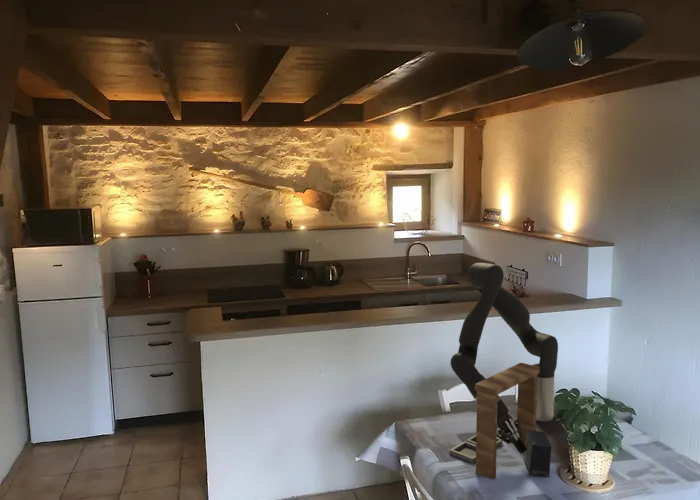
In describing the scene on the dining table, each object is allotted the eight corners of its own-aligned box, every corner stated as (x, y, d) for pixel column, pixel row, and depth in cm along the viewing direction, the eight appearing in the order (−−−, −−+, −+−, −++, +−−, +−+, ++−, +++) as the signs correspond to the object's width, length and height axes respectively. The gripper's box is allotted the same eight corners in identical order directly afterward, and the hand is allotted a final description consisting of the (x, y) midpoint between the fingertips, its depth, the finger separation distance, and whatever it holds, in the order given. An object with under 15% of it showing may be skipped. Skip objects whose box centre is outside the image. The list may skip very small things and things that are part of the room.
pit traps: (480, 435, 201) (480, 431, 201) (502, 443, 195) (502, 439, 195) (449, 454, 188) (449, 449, 188) (472, 463, 182) (472, 458, 182)
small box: (550, 478, 172) (553, 446, 171) (528, 476, 173) (531, 444, 172) (543, 461, 182) (546, 431, 181) (523, 459, 183) (525, 429, 182)
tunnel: (518, 442, 196) (520, 362, 193) (537, 448, 191) (539, 367, 188) (473, 472, 176) (474, 384, 172) (493, 480, 171) (494, 389, 168)
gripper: (487, 404, 179) (521, 454, 172) (508, 394, 188) (542, 440, 181) (473, 416, 183) (505, 464, 176) (494, 404, 192) (526, 450, 185)
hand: (524, 451), depth 178 cm, fingers closed
